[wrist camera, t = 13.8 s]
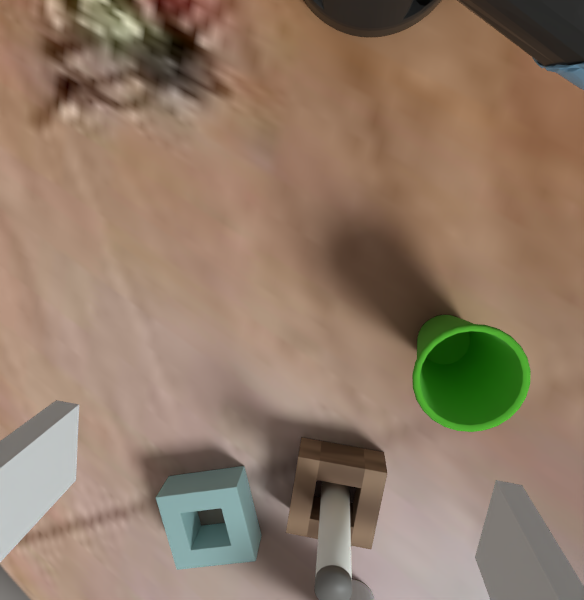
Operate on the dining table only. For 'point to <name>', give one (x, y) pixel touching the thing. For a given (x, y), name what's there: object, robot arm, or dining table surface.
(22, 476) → the robot arm
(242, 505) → the teal square ring
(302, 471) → the brown square wooden ring
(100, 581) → the dining table surface
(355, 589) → the coffee cup
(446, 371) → the cup
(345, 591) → the pale grey rod
